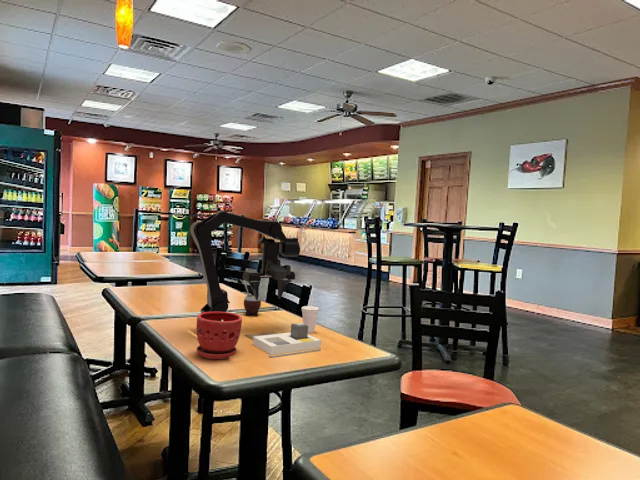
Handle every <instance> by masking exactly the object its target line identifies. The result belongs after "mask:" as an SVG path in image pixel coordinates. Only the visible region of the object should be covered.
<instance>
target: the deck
mask: <svg viewBox="0 0 640 480" xmlns="http://www.w3.org/2000/svg"><path fill="white" fill-rule="evenodd" d="M272 334H279V333H278V332H276V331H268V332H257V333H249V334H248V333H247V334H243V336H244V337H246V338H247V339H250V341H253V337H254V336H263V335H272Z"/></svg>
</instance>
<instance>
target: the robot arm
mask: <svg viewBox="0 0 640 480" xmlns="http://www.w3.org/2000/svg"><path fill="white" fill-rule="evenodd" d="M223 224H227V225H232V226H237V227H239V228H240V227H241V228H245V229H248V230H249V229H250V230H253V231H254V232H257V233H259V234H261V235H263V236H261V237H260V238H259V239H258V240H257V241H256V242H257V243H258V244H262V257H261V258H260V262H262V263H261V269H260V270H259V272H258V271H254V270H245V271H243V273H242V280H245V282H247V283H248V284H249V286H250V288H251V291H252V295H254V296H255V299H256V300H258V296H259V297H260V295H259V294H260V293H259V291H260V290H259V288H260V287H259V286H260V284H261V281H259V280H261V279H273V280H276V281H277V298H278V299H279V300H280V299H282V296H283V293H284V291H285V289H286V288H287V286H288V284H289V283H292V282H293V280H294V281H295V280H296V272H295V271H293V270H291V269H292V266H291V265H290V264H284V265H281V259H279V255H281V256H282V257H299V255H300V252H301V247H300V246H301V245H300V242H299V238H298V237H287V235H286V234H285V233H284V232H283V227H282V224H281V223H280V222H278V221H274V220H262V219H254V218H251V217H250V218H249V217H247V216H242V215H240V214H239V215H238V214H235V213H230V212H227V211H226V210H219V211H217V212H215V213H214V214H212V215H210V216H208V217H206V218H205V219H203V220H201V221H200V220H198V221H194V222H193V223H192V224H191V225H190V228H189V232H190V235H191V237H192V239H193V242H194V243H195V245H196V247H197V249H198V252H199V256H200V260H201V261H200V262H201V265H202V270H203V274H204V279H205V284H206V289H207V291H206V292H207V293H206V304H205V305H204V306H203V307H202V308H200V313H204V312H227V311H228V310H229V304H231V302H230V300H229V298H228V291H227V290H225V289H223V288H221V286H220V281H219V277H218V273H217V268H216V262H215V260H214V259H215V257H214V255H213V250H212V237H213V236H212V235H213V234H212V232H213V231H215V230H217V229H218V228H220V226H222V225H223ZM267 237H268V238H267ZM275 240H278V241H275ZM213 321H215V320H213ZM218 321H223V320H222V319H220V320H218ZM200 331H201V333H202V332H203V331H202V329H201V330H200Z"/></svg>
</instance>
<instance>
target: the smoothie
mask: <svg viewBox="0 0 640 480" xmlns="http://www.w3.org/2000/svg"><path fill="white" fill-rule="evenodd" d="M313 305H314V295H311V303H310V305H304V306H302V307H301V313H302V323H303V324H305V325H308V334H313V333H315V330H316V325H317V319H318V314H319V311H320V308H319V307H318V306H313Z"/></svg>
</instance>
